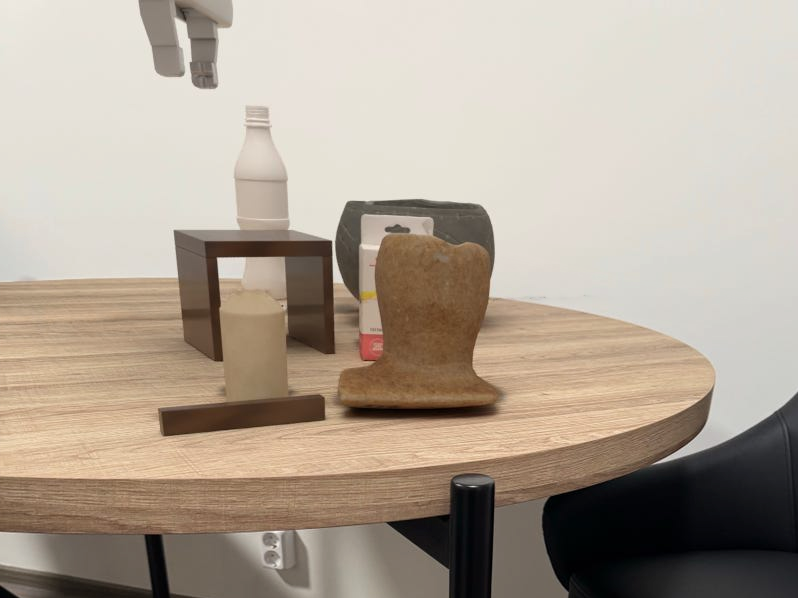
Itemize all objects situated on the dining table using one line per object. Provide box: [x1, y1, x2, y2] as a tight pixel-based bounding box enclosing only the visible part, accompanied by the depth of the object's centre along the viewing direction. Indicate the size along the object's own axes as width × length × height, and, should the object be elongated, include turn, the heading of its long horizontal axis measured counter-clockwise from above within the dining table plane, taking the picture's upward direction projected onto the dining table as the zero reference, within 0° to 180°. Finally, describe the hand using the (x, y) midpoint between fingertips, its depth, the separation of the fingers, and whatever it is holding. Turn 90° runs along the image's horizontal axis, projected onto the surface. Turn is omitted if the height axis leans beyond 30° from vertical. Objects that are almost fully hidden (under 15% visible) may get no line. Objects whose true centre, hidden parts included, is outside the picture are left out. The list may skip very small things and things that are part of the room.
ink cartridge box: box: [358, 214, 434, 361], centre depth 104 cm, size 9×5×15 cm, turn 100°
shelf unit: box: [173, 229, 336, 362], centre depth 106 cm, size 14×12×12 cm
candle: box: [219, 289, 290, 402], centre depth 83 cm, size 6×6×10 cm
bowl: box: [334, 198, 496, 302], centre depth 124 cm, size 21×21×15 cm
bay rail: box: [157, 393, 326, 436], centre depth 79 cm, size 14×1×2 cm, turn 121°
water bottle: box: [233, 105, 291, 308], centre depth 129 cm, size 7×7×25 cm
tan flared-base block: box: [337, 233, 500, 410], centre depth 86 cm, size 15×12×15 cm
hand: (189, 83), depth 71 cm, fingers open, 8 cm apart
